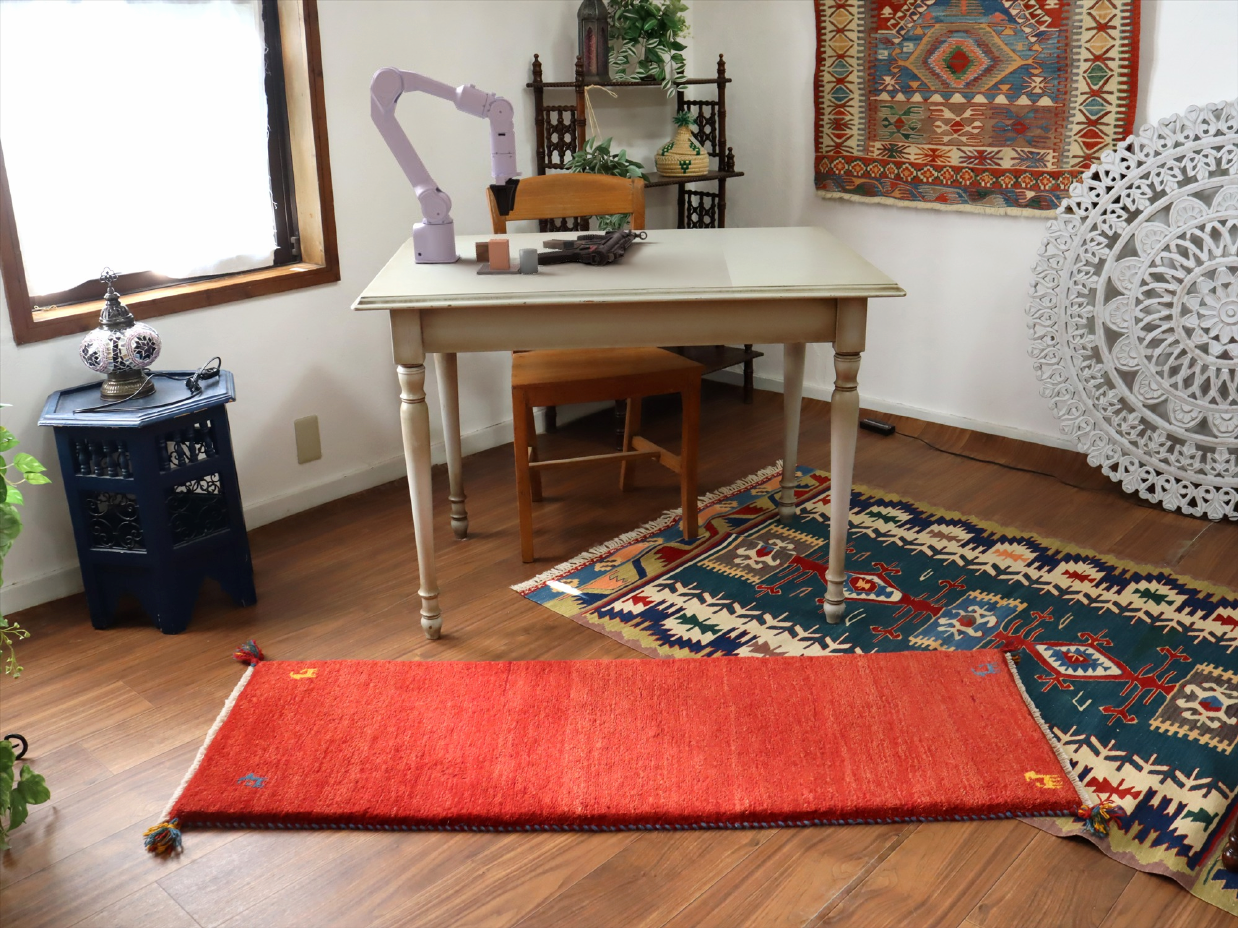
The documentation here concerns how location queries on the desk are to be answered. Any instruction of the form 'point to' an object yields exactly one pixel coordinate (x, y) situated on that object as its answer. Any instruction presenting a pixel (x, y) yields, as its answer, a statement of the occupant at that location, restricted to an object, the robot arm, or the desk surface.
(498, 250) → the terracotta block
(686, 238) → the desk surface
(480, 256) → the walnut block
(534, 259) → the grey teal cylinder
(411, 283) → the desk surface
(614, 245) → the submachine gun
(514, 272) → the slate pad
